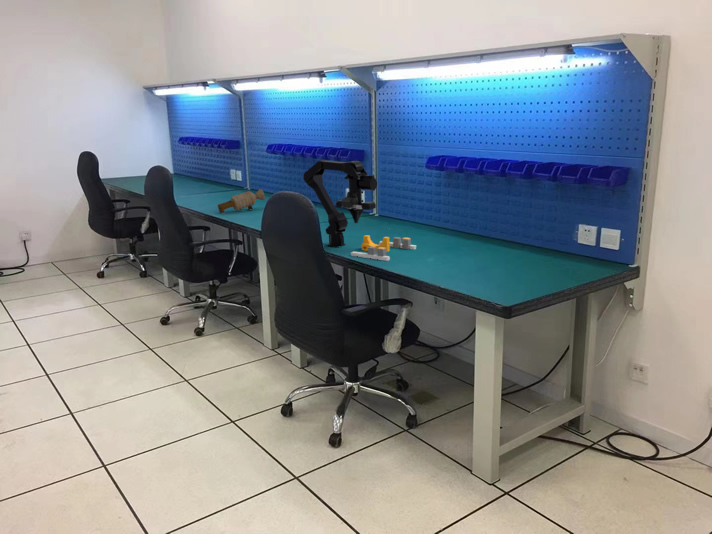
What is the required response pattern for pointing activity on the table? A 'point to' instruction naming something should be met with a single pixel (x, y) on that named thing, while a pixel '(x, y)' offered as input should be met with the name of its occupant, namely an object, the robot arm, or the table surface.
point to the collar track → (381, 251)
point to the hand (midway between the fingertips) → (356, 223)
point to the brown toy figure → (242, 201)
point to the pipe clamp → (369, 243)
